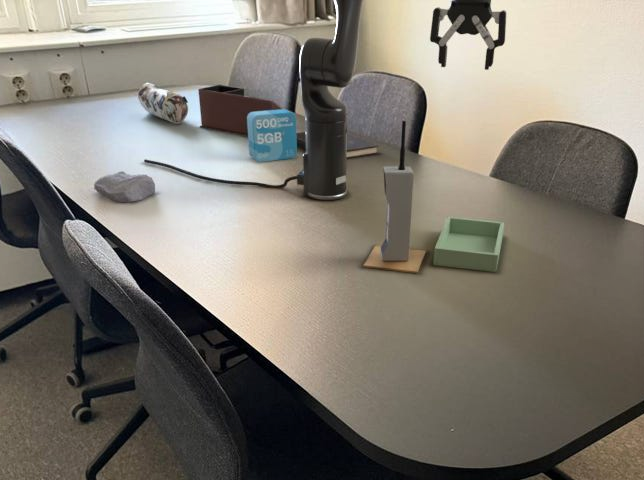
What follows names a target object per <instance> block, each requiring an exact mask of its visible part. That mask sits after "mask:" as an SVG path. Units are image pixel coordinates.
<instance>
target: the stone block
mask: <svg viewBox="0 0 644 480" xmlns="http://www.w3.org/2000/svg"><path fill="white" fill-rule="evenodd" d="M154 181H155V180H153V177H151V176H149V175H148V174H144V173H143V174H140V173H136V174H132V175H131V174H128V173H126V172H125V171H118V172H117V173H116V172H115V173H111V174H106V175H103V176H100V177H99V178H98V179H97V180H95V181H94V183H93V184H94V187H93V188H94V190H95V191H96V193H98V194H99V195H102V196H103V197H106V198H109V199H111V200H113V201H116V202H118V203H132V202H138V201H143V200H144V199H146V198H148V197H150V196H152V195H154V194H155V193H156V183H155V182H154Z"/></svg>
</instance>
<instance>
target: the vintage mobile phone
mask: <svg viewBox="0 0 644 480" xmlns="http://www.w3.org/2000/svg"><path fill="white" fill-rule="evenodd" d="M401 121H402V122H401V137H400V138H401V139H400V150H399V164H398V166H391V165H390V166H385V165H384V166H383V167H382V168H383V185H384V186H383V187H384V189H383V190H384V195H385V197H386V221H385V222H386V223H385V239H384V241H383V242H382V244H381V245H380V246H381V248H380V254H381V258H382V261H408V260H409V249H410V242H411V226H412V211H413V210H412V209H413V193H414V192H413V190H414V177H415V175H414V172H413V169H412V168H411V166H406V165H405V161H406V160H405V157H406V148H405V147H406V145H405V144H406V125H407V121H406V120H401Z"/></svg>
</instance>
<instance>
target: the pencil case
mask: <svg viewBox="0 0 644 480" xmlns="http://www.w3.org/2000/svg"><path fill="white" fill-rule="evenodd" d="M137 97H138V103H139V104H140V105H141V107H142V108H143V109H144V111H146V112H148V113H150V114H151V115H153V116H155V117H159V118H160V119H162V120H165V121H167V122H170V123H171V124H174V125H175V124H176V125H177V124H178V125H179V124H181V123H183V121H184V120H185V119H186V118H187V116H188V113H189V106H188V103H189V102H188V99H187V98H186V96H182V95H180V94H179V93H176V92H174V90H170V91H168V90H167V89H166V90H165V89H162V88H160V87H159V86H157V85H156V84H153V83H151V82H146V83H143V84H142V86H141V88H140V89H139V90H138V94H137Z"/></svg>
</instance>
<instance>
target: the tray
mask: <svg viewBox="0 0 644 480" xmlns="http://www.w3.org/2000/svg"><path fill="white" fill-rule="evenodd" d="M504 230H505V222H503V221H495V220H484V219H477V218H475V219H474V218H466V217H465V218H464V217H455V216H446V219H445V222H444V224H443V227H442V229H441V232H440V233H439V236H438V238H437V240H436V244H435V246H434V251H433V263H432V264H433V266H441V267H449V268H456V269H465V270H473V271H483V272H491V273H492V272H493V273H496V272H497V270H498V263H499V259H500V253H501V248H502V243H503V237H504Z"/></svg>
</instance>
